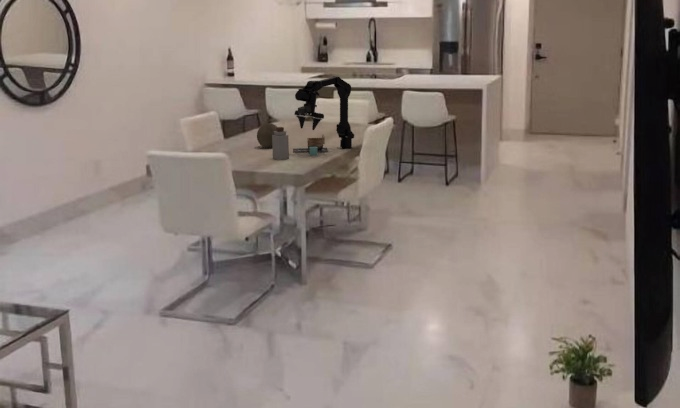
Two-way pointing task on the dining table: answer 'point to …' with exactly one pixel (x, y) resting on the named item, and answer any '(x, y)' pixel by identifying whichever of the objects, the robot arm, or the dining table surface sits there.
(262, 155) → the dining table surface
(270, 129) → the cantaloupe
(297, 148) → the rail
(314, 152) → the block
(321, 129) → the dining table surface
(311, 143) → the cart
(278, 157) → the perfume bottle
